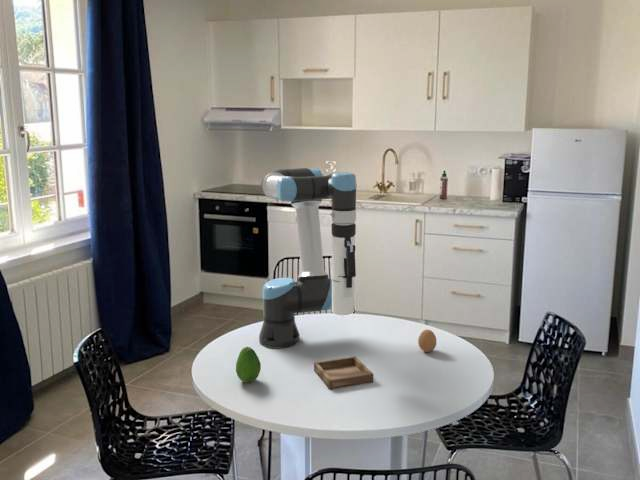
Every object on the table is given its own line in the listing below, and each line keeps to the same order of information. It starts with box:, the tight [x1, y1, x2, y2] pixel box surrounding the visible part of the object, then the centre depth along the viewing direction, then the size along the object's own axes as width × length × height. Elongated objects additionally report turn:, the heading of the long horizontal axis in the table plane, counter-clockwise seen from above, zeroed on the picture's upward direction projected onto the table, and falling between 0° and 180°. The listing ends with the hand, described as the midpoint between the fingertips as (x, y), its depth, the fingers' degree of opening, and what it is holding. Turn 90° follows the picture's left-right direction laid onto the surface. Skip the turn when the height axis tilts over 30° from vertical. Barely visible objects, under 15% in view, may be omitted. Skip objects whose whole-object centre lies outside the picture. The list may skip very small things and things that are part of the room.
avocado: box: [235, 346, 261, 384], centre depth 208 cm, size 8×8×12 cm
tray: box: [313, 355, 374, 391], centre depth 213 cm, size 15×15×3 cm
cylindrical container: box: [331, 234, 356, 316], centre depth 205 cm, size 7×7×25 cm
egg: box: [417, 329, 437, 353], centre depth 232 cm, size 6×6×8 cm
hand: (343, 293), depth 207 cm, fingers closed on cylindrical container, 7 cm apart
